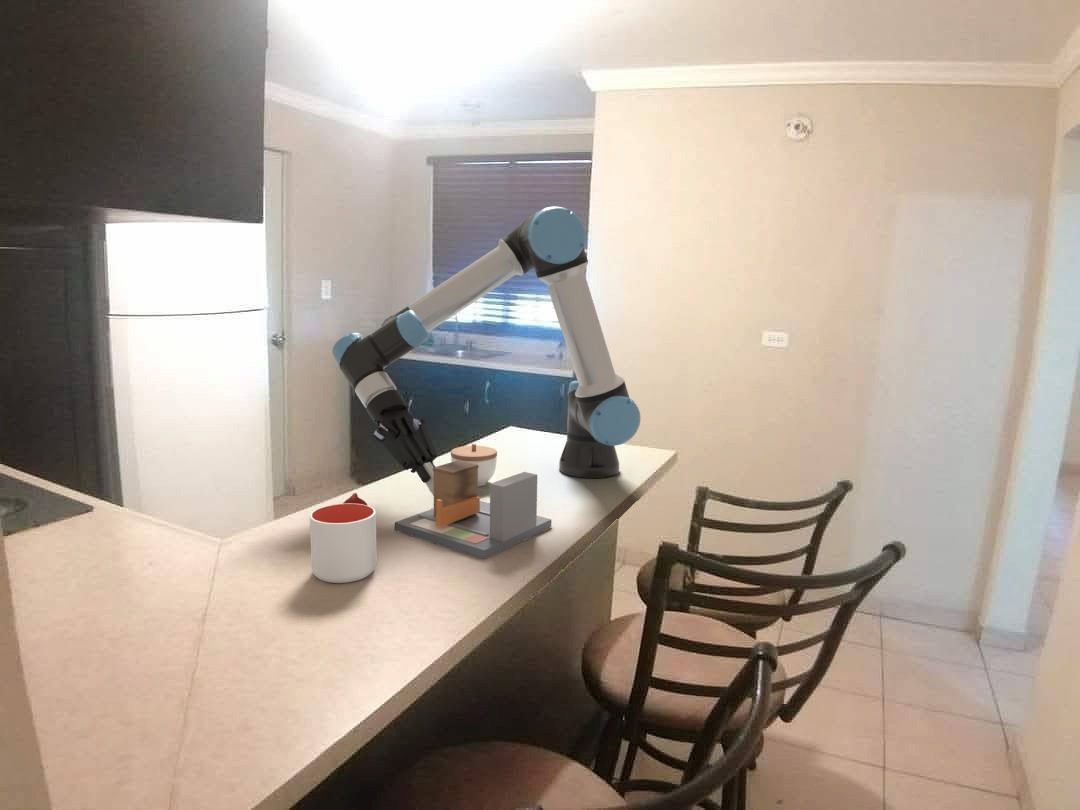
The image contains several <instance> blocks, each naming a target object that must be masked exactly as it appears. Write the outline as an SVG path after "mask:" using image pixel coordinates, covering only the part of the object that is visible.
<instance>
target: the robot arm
mask: <svg viewBox="0 0 1080 810" xmlns="http://www.w3.org/2000/svg"><path fill="white" fill-rule="evenodd" d="M585 229H586V228H585V226H584V224H583V221H582V220H581V219H580V217H579V216H578V215H577V214H576V213H575V212H574V211H572V210H570V209H568V208H567V207H561V206H549V207H544V208H543V209H541V210H538V211H537V212H534V213H533V214H530V215H528V217H526V218H525V219H524V220H523V221H522V222H520V223H519V225H518V226H516V227H515V228H514V229H513V230H512V231H510V232H509V233H508V234H505V236H504V237H502V238H500V239H499V240H498V244H497V247H495V248H494V249H492V250H490V251H489V252H487V253H486V254H484V255H483V256H481V257H480V258H478V259H477V260H475V261H474V262H472V263H471V264H469V265H468V266H466V267H465V268H463V269H462V270H460V271H458V272H457V273H455V274H454V275H452V276H451V277H449V278H448V279H446V280H445V281H443V282H442V283H440V284H439V285H438V286H436V287H433V289H431V290H429V291H428V292H427V293H425V294H424V295H422V296H421V297H419V298H417V299H416V300H414V301H413V302H412V303H410V304H409V305H407V306H406V307H404V308H403V309H401V310H400V311H398V312H396V313H395V314H393V315H390V316H389V317H387V318H386V319H384V320H383V322H382V324H381V326H380V327H379V328H378V329H376V330H374V331H373V332H372V333H370V334H368V335H366V336H363V334H361V333H358V332H350V333H349V334H347V335H343V336H342V337H340V338H339V339H338V340H337V341H336V342H335V343H334V345H333V347H332V355H333V357H334V359H335V362H336V363H337V364H338V368H339V370H341V372H342V374H343V375H344V377H345V378H346V380H347V381H348V383H349V385H350V386H351V388H353V391H354V392H355V393H356V396H357V397H358V399H359V400H360V402H361V404H362V405H363V407H364V408H365V409H366V412H367V414H368V415H369V416H370V418H371V420H372V421H373V423H375V424H376V425H377V429H376V430H375V431H374V432H373V434H372V437H373V439H375V440H377V441H378V442H379V443H380V444H381V445H382V446H383V447H384V448H385V449H386V450H387V451H388V452H389V454H390V455H391V456H392V457H393V458H394V459H395V460H396V461H397V462H398V463H399V465H400V466H401V467H402V468H403V469H404V470H406V471H409V470H410V473H411V474H412V473H413V474H415V473H416V474H417V476H418V477H419V479H420V480H421V482H422V483H423V484H426V486H427V488H428V490H429V491H430V493H431V495H432V496H433V497H434V471H433V467H436V465H435V463H434V461H435V460H436V458H437V457H438V454H437V450H436V449H435V446H434V443H433V441H432V439H431V437H430V433H429V431H428V429H427V425H426V424H427V421H426V419H425V418H420V419H417V418H414V416H413V415H412V413H410V412H409V411H408V410H407V402H406V400H405V399H404V397H402V394H401V393H400V392H399V390H397V387H396V384H395V383H394V381H393V380H392V379H391V378H390V376H389V374H388V373H387V371H386V370H385V368H387V367H388V366H391V364H392V363H394V362H396V361H397V360H399V359H400V358H402V357H404V356H406V355H407V354H408V353H410V352H411V351H413V350H415V349H416V348H417V349H418V348H420V346H421V345H422V344H424V342H426V341H428V339H429V338H430V333H429V332H431V331H432V330H434V329H436V328H437V327H438V326H440V325H442V324H443V323H445V322H446V321H448V320H449V319H450V318H452V317H453V316H455V315H457V314H458V313H459V312H461V311H462V310H464V309H466V308H468V307H469V306H470V305H472V304H473V303H475V302H476V301H478V300H480V299H481V298H482V297H484V296H485V295H487V294H489V293H490V292H492V291H493V290H494V289H496V288H498V287H499V286H501V285H502V284H503V283H505V282H507V281H509V279H512V278H513V277H514V276H515V275H517V276H520V277H521V276H523V275H525V274H527V273H529V272H530V271H532V270H534V273H535V274H536V278H537V280H539V281H540V282H543V283H544V284H546V286H547V289H548V292H549V295H550V299H551V301H552V306H553V308H554V310H555V311H554V312H555V314H556V318H557V320H558V323H559V326H560V329H561V333H562V336H563V339H564V342H565V346H566V350H567V352H568V355H569V359H570V361H571V364H572V368H573V371H574V373H575V376H576V380H572V381H571V382H570V383H569V385H568V391H567V422H566V423H567V424H566V426H567V428H566V430H567V431H566V432H567V433H566V442H565V444H564V447H563V450H562V453H561V455H560V457H559V463H558V465H559V467H558V468H559V469H558V470H559V471H560V472H561V473H562V474H565V475H568V476H570V477H576V478H583V479H584V478H586V479H600V478H601V479H602V478H610V477H614V476H617V475H618V474H619V473H620V461H619V458H618V454H617V450H616V446H620V445H623V444H625V443H628V442H629V441H630V440H632V438H634V436H635V435H636V433H637V431H638V430H639V428H640V424H641V412H640V409H639V407H638V406H637V404H636V403H635V401H634V400H633V399H631V398H630V395H629V391H628V389H627V385H626V382H625V379H624V377H622V376H620V375H618V374H617V373H616V372H615V370H614V368H615V367H614V365H613V363H612V358H611V355H610V352H609V349H608V347H607V343H606V340H605V336H604V333H603V329H602V326H601V323H600V320H599V316H598V313H597V310H596V306H595V303H594V300H593V297H592V293H591V291H590V286H589V283H588V281H587V276H586V273H585V270H586V269H587V266H588V264H589V260H588V257H587V254H586V252H587V251H586V250H585V244H586V240H587V239H586V237H587V236H586V230H585Z"/></svg>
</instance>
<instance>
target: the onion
mask: <svg viewBox="0 0 1080 810" xmlns="http://www.w3.org/2000/svg"><path fill="white" fill-rule="evenodd" d="M345 503H353V504H363V505H367V506H369V505H368V503H367V502H366V501H365V500H364V499H362V498H360V497H359V496H358V493H357V492H354V493H352V495H351V496H349V498H347V499H346V500H345V501H343V503H342V504H345Z"/></svg>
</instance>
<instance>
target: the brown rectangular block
mask: <svg viewBox="0 0 1080 810" xmlns="http://www.w3.org/2000/svg"><path fill="white" fill-rule="evenodd" d="M478 468H479V465H477V464H473V463H468V462H464V461H459V460H458V461H454V462H447V463H445V464H441V465H438V466H435V467H433V471H434V496H433V508H434V516H435V517H436V500H437V499H440V500H442V506H443V508H444V507H447V506H450V505H453V504H455V503H458V502H461V501H464V500H467V499H469V498H472V497H475V496H477V497H479V496H478V493H479V492H478V487H479V486H478Z"/></svg>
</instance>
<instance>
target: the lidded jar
mask: <svg viewBox="0 0 1080 810" xmlns="http://www.w3.org/2000/svg"><path fill="white" fill-rule="evenodd" d="M497 456H498V451H497V449H495V448H493V447H490V446H483V445H477V444H476V443H471V445H464V446H459V447H455V448H453V449H451V450H450V459H451V460H450V461H451V462H454V461H458V460H459V461H464V462H468V463H473V464H477V465H479V468H478V487H483V486H485V485H487V484H488V482H489V481H490V480H491V479H492V478H493V476H494V475H495V471H496V467H497ZM451 462H450V463H451Z"/></svg>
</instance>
